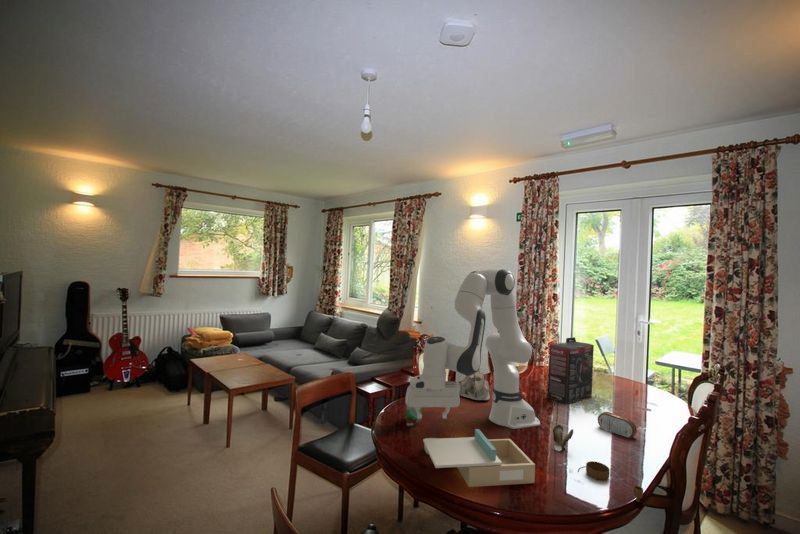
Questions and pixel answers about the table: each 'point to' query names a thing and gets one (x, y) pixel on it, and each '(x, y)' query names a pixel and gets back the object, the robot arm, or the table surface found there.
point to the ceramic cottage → (475, 387)
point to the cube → (425, 446)
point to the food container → (412, 417)
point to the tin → (617, 424)
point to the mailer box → (501, 467)
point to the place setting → (606, 476)
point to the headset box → (570, 371)
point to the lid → (462, 451)
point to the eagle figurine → (560, 438)
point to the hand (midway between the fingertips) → (431, 418)
